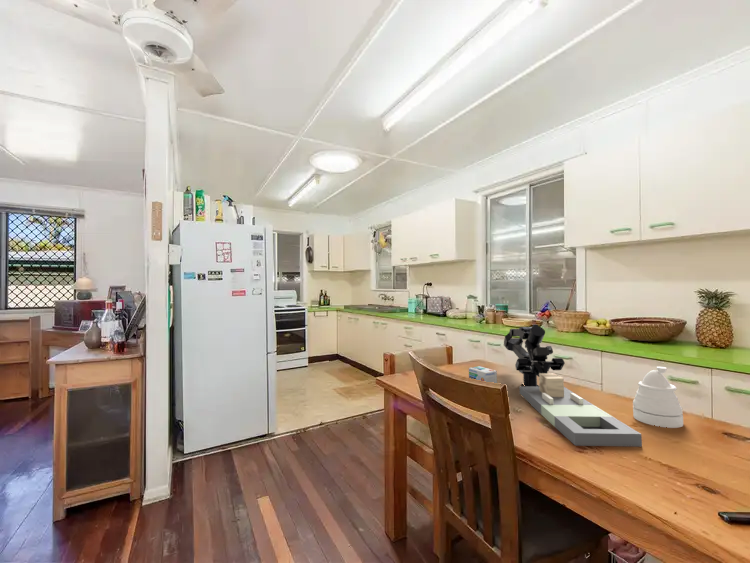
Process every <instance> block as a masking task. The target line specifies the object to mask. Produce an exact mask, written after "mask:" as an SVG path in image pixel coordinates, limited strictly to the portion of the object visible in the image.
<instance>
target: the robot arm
mask: <svg viewBox="0 0 750 563" xmlns="http://www.w3.org/2000/svg"><path fill="white" fill-rule="evenodd" d="M545 334H546V330H545V329H544V328H543V327H541V326H539V324H537V323H536V324H535V323H533V324H532V326H521V327H518V328H511V329H509V332H508V333H507V334H506V335H505V336H504V340H503V346H504V348H505V349H506V350H507V351H511V352H513V353H514V354H515V355H516V356H517V359H516V362H515V370H516V371H518V372H519V373H520V374H522V376H523V377H522V378H523V379H522V380H523V381H522V382H523V383H524V385H525V386H539V385H538V378H539V373H549V370H552V371H562V370H563V367H564V365H565V361H564V358H562V357H553V358H552V359H551V360H548V356H549V355H552V354H554V351H553V347H552V346H551V345H546V346H541V344H542V342H543V339H544V337H545ZM515 337H517V338H515ZM524 340H525V341H524ZM523 343H524V347H523Z"/></svg>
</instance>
